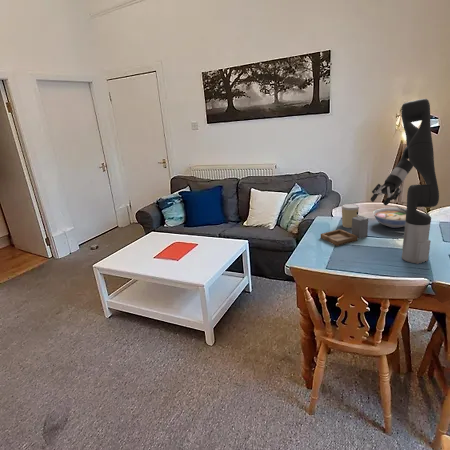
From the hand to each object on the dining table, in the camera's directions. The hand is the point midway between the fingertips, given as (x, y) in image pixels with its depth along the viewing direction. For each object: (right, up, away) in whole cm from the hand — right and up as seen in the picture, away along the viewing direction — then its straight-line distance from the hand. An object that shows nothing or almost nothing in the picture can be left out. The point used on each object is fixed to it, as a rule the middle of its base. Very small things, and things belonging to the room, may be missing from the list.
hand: (378, 202), depth 169 cm
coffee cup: (-9, -12, +17) cm, 23 cm away
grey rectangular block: (-9, -18, +1) cm, 20 cm away
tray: (-21, -19, -1) cm, 29 cm away
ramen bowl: (+14, -12, +11) cm, 22 cm away
